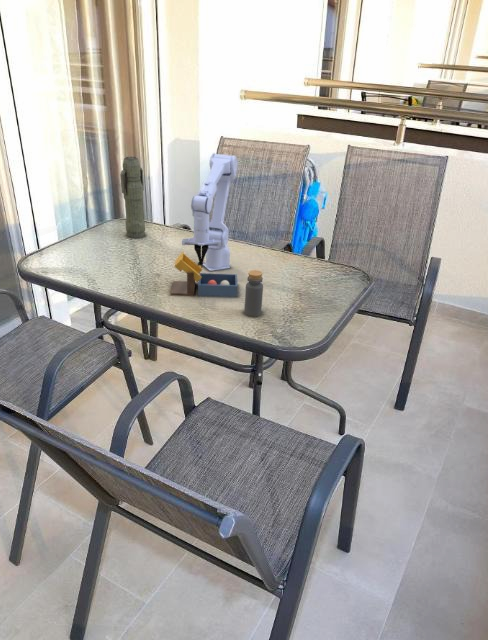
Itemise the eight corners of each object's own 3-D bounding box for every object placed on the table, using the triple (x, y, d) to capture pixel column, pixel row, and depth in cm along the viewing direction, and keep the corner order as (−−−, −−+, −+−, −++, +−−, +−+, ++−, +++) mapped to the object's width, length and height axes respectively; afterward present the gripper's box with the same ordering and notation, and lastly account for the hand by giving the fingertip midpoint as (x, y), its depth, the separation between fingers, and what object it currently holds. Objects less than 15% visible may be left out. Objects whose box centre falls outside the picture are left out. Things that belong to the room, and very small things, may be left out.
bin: (198, 296, 186) (198, 284, 184) (199, 283, 196) (199, 272, 193) (237, 297, 187) (237, 286, 184) (236, 284, 196) (236, 274, 194)
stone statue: (120, 236, 239) (113, 158, 220) (137, 230, 247) (132, 154, 229) (134, 240, 235) (129, 161, 216) (151, 234, 243) (147, 157, 225)
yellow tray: (174, 267, 182) (181, 259, 180) (177, 252, 194) (184, 245, 193) (196, 285, 186) (203, 277, 184) (197, 270, 198) (204, 262, 197)
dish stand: (171, 295, 186) (170, 272, 181) (173, 282, 195) (173, 261, 191) (193, 295, 186) (193, 273, 181) (195, 283, 196) (195, 262, 191)
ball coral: (207, 281, 192) (215, 286, 193) (204, 287, 190) (212, 293, 191) (212, 276, 189) (219, 281, 190) (209, 283, 187) (217, 288, 188)
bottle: (243, 309, 178) (245, 269, 170) (259, 309, 179) (263, 269, 171) (245, 316, 173) (247, 276, 165) (262, 316, 174) (265, 276, 166)
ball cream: (221, 286, 193) (230, 282, 192) (223, 293, 191) (232, 288, 190) (217, 281, 190) (225, 276, 189) (219, 288, 188) (228, 283, 187)
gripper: (181, 231, 184) (181, 266, 192) (220, 232, 185) (219, 267, 192) (182, 225, 190) (183, 259, 198) (220, 227, 191) (220, 261, 198)
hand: (201, 263), depth 195 cm, fingers closed
